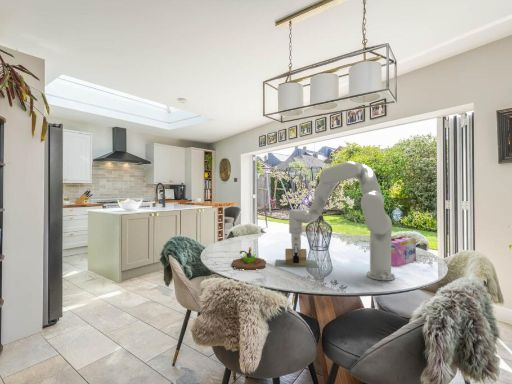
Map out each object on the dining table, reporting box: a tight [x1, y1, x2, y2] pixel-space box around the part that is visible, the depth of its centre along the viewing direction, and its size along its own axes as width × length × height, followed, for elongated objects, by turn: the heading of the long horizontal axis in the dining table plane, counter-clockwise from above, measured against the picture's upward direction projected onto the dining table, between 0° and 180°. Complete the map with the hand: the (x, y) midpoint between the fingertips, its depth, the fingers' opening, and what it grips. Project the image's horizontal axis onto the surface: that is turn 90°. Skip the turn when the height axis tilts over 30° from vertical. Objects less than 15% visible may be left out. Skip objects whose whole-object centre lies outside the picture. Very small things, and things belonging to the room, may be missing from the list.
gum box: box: [391, 235, 417, 268], centre depth 161 cm, size 24×8×14 cm, turn 125°
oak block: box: [284, 248, 308, 265], centre depth 159 cm, size 5×12×8 cm, turn 83°
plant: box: [231, 246, 267, 271], centre depth 156 cm, size 20×20×11 cm
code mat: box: [274, 259, 319, 269], centre depth 159 cm, size 15×24×1 cm, turn 83°
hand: (295, 261), depth 159 cm, fingers closed on oak block, 5 cm apart
